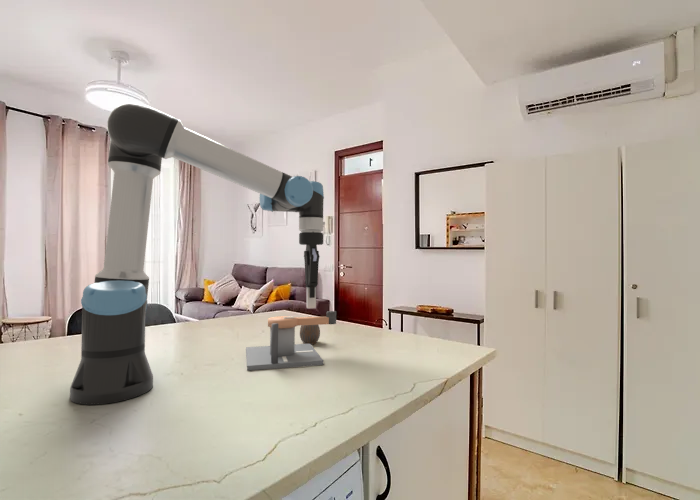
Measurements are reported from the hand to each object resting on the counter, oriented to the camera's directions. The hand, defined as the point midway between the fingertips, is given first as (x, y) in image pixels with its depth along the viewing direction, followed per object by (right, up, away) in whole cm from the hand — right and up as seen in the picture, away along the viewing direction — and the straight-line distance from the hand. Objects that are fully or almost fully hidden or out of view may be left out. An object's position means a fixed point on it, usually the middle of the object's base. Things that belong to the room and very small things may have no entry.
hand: (311, 307), depth 117 cm
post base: (-8, -13, -8) cm, 17 cm away
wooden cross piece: (-2, -4, -6) cm, 7 cm away
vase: (-2, -14, +11) cm, 18 cm away
